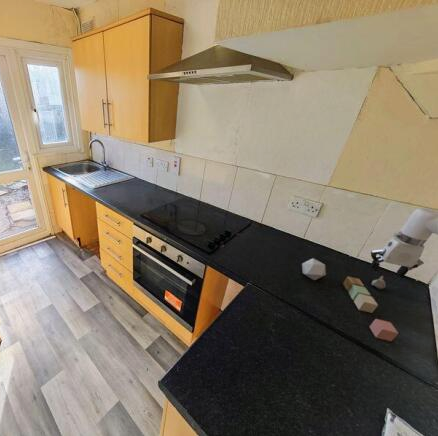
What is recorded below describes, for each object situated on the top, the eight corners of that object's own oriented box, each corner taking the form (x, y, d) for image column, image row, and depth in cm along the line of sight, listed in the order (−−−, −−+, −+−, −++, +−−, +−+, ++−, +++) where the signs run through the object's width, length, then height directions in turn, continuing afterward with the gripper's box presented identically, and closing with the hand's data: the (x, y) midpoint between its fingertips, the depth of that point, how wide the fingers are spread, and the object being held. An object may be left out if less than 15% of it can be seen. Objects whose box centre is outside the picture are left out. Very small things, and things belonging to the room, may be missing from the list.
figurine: (380, 284, 102) (387, 274, 99) (387, 291, 98) (394, 281, 96) (366, 282, 103) (373, 272, 100) (373, 289, 99) (380, 279, 96)
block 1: (354, 286, 100) (359, 278, 98) (358, 293, 97) (364, 285, 95) (342, 283, 101) (347, 276, 99) (346, 290, 98) (351, 282, 96)
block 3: (366, 304, 91) (372, 296, 89) (372, 313, 88) (378, 305, 85) (353, 301, 92) (358, 293, 90) (358, 309, 89) (364, 301, 87)
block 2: (360, 295, 96) (365, 287, 94) (365, 302, 92) (370, 294, 90) (347, 292, 97) (352, 284, 95) (352, 299, 93) (357, 291, 91)
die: (325, 280, 104) (323, 258, 105) (327, 282, 96) (325, 258, 98) (303, 278, 109) (301, 257, 110) (303, 280, 101) (301, 257, 103)
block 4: (383, 330, 81) (390, 322, 79) (391, 341, 77) (398, 333, 75) (369, 326, 82) (375, 318, 80) (375, 337, 78) (382, 329, 76)
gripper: (389, 238, 88) (366, 272, 96) (445, 249, 84) (416, 283, 92) (378, 229, 94) (357, 261, 102) (431, 239, 90) (404, 271, 98)
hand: (385, 271), depth 97 cm, fingers open, 9 cm apart
